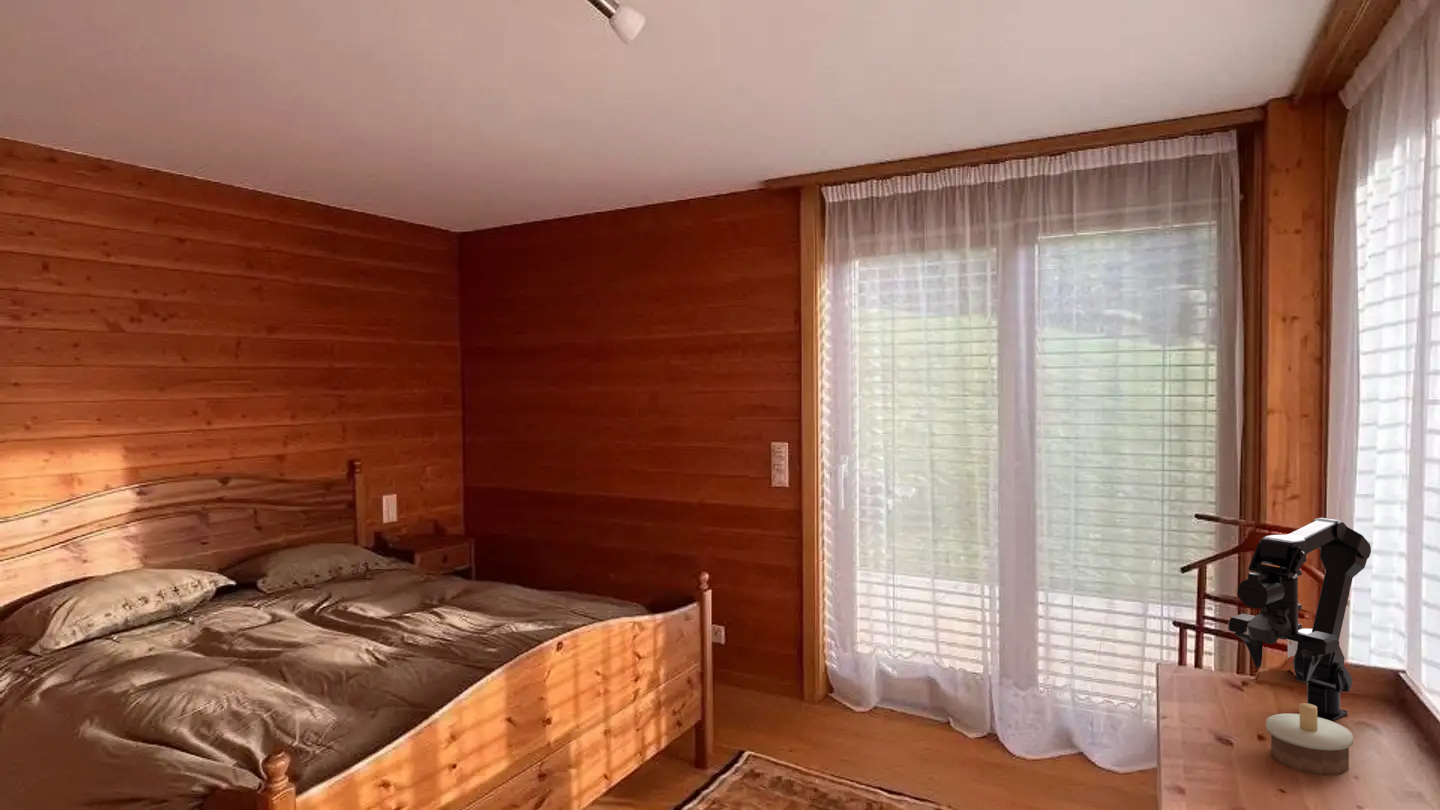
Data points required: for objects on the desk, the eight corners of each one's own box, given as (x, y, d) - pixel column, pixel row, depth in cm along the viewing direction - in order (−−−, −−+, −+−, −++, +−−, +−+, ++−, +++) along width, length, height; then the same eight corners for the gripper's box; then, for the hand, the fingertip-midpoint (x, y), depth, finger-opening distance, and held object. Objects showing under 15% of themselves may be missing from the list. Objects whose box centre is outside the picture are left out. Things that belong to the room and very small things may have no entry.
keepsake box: (1292, 739, 169) (1292, 715, 169) (1360, 763, 159) (1360, 737, 158) (1258, 755, 164) (1258, 730, 163) (1327, 781, 153) (1326, 754, 153)
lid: (1289, 719, 170) (1289, 686, 170) (1367, 745, 158) (1367, 709, 158) (1251, 737, 164) (1251, 702, 163) (1329, 765, 152) (1329, 728, 151)
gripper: (1211, 595, 176) (1212, 668, 177) (1309, 618, 159) (1310, 698, 160) (1242, 586, 181) (1243, 657, 182) (1340, 607, 165) (1340, 685, 165)
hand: (1281, 674), depth 172 cm, fingers open, 9 cm apart
